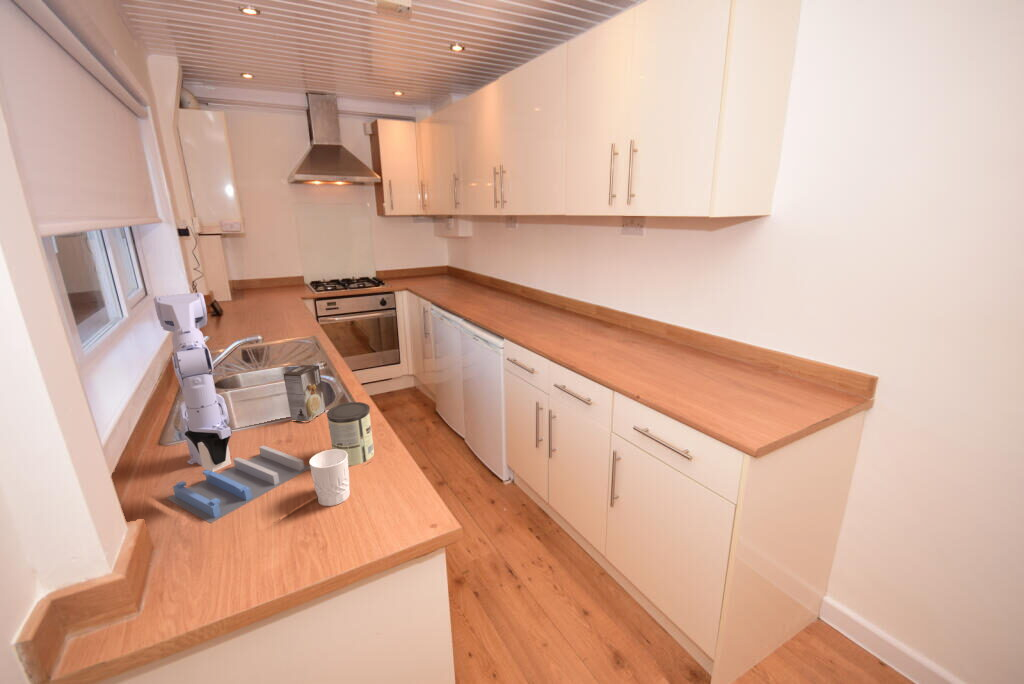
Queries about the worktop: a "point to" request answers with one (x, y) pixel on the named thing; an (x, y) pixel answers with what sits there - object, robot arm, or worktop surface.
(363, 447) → the coffee can
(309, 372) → the coffee box
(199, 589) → the worktop surface
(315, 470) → the white cup
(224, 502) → the grey railed board
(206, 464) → the cream plug
